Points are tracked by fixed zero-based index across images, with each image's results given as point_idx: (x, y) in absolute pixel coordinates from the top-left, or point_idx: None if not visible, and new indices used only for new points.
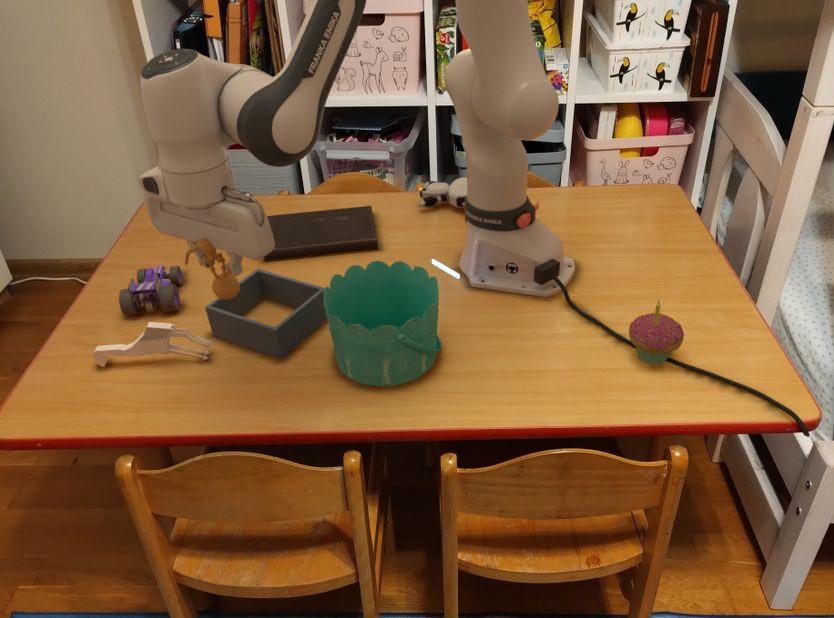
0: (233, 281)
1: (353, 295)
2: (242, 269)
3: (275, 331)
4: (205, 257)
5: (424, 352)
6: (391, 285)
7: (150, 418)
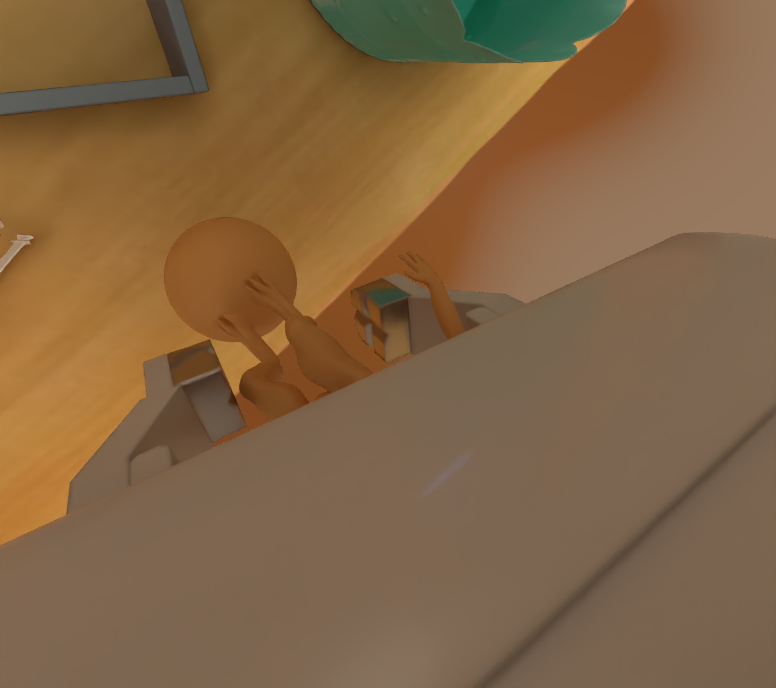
0: (291, 272)
1: None
2: (397, 273)
3: (207, 91)
4: None
5: None
6: None
7: None
